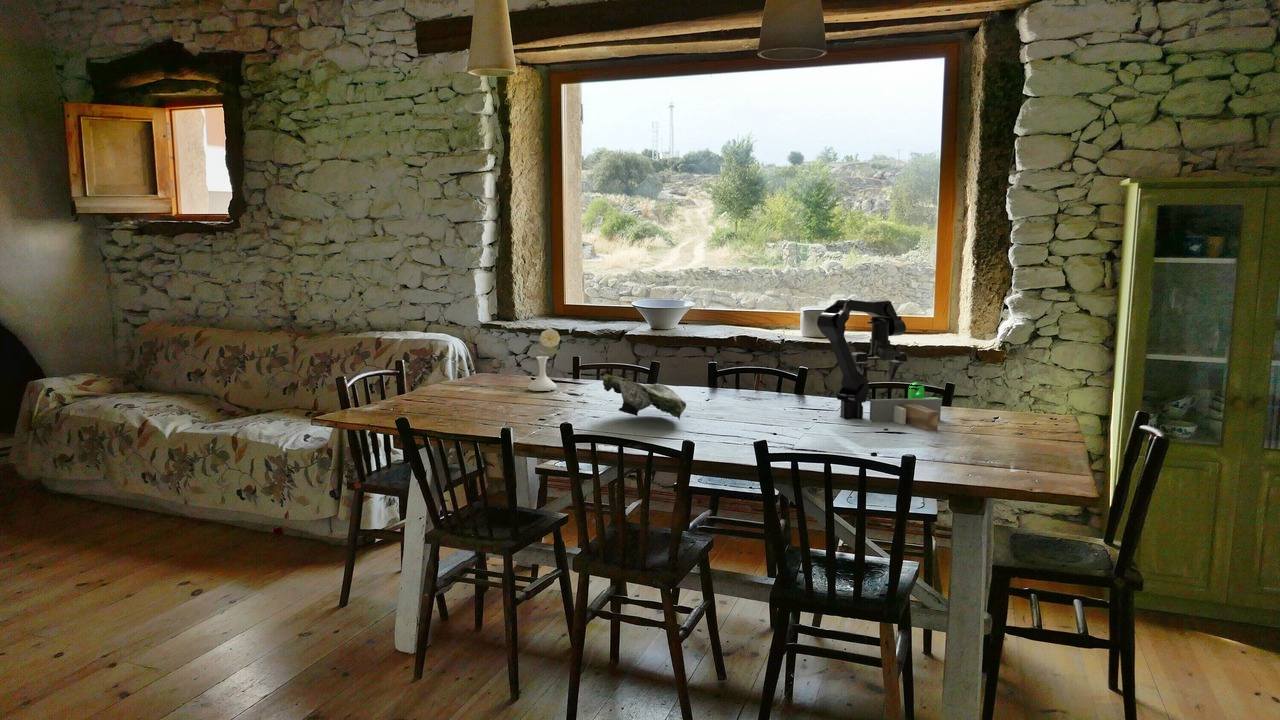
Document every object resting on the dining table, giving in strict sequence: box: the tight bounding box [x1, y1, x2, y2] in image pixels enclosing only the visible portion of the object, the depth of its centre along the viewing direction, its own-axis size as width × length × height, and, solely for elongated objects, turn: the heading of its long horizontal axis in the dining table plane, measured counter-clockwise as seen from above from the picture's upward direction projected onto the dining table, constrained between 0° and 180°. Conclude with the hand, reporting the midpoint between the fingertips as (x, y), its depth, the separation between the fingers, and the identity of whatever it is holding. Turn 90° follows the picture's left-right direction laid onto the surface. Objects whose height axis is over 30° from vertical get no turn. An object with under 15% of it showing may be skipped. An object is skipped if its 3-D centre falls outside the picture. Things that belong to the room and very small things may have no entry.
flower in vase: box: [527, 328, 561, 392], centre depth 342 cm, size 13×11×25 cm
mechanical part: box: [907, 381, 943, 401], centre depth 321 cm, size 12×6×8 cm, turn 108°
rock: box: [602, 373, 687, 421], centre depth 286 cm, size 29×30×15 cm
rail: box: [902, 403, 939, 431], centre depth 278 cm, size 4×16×6 cm, turn 11°
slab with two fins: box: [869, 397, 942, 425], centre depth 284 cm, size 24×8×7 cm, turn 99°
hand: (878, 382), depth 298 cm, fingers open, 9 cm apart
